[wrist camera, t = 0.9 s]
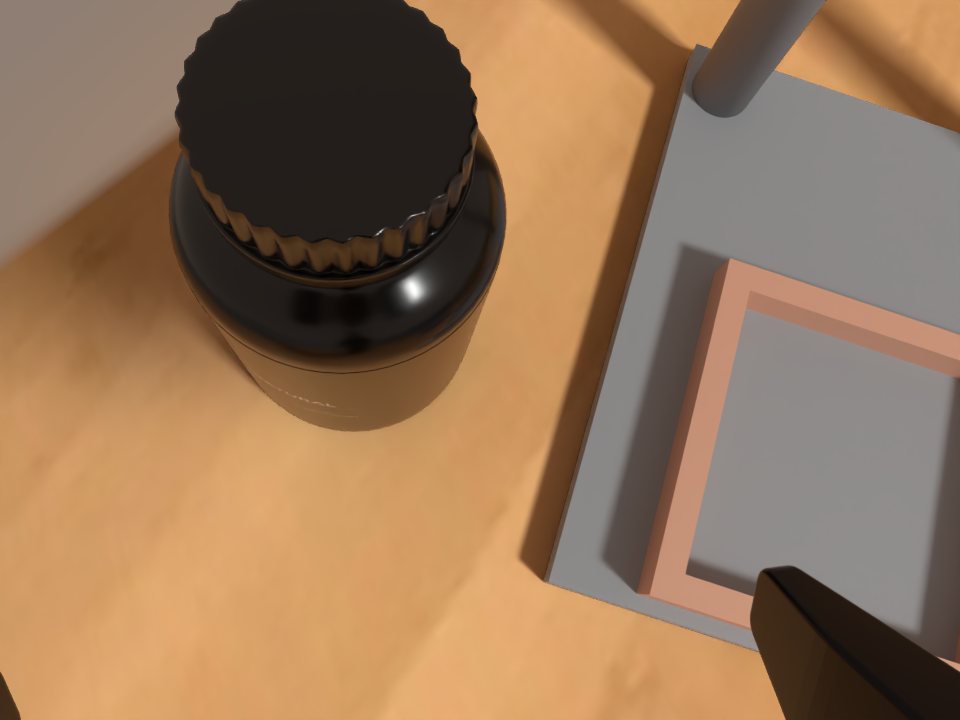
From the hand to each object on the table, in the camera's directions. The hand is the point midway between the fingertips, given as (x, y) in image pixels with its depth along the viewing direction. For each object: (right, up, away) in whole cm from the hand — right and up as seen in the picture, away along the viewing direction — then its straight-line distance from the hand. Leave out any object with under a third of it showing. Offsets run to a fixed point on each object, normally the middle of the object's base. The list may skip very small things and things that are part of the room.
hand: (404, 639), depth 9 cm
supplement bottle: (-3, +4, +15) cm, 16 cm away
